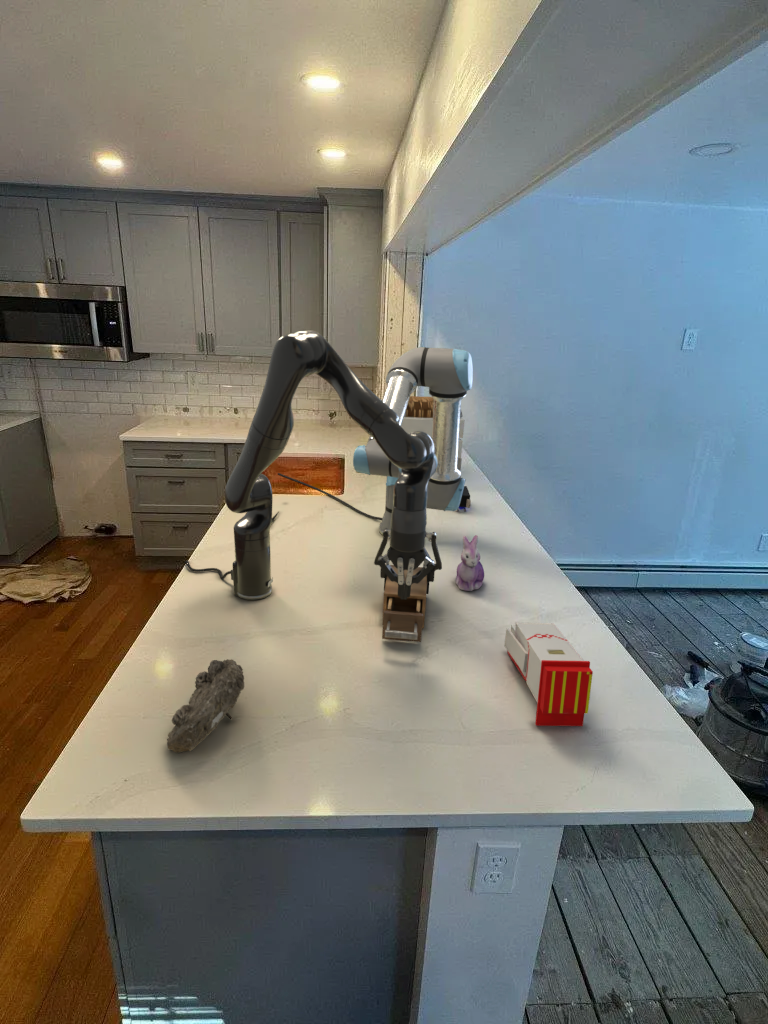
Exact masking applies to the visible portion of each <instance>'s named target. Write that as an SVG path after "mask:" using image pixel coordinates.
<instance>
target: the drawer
mask: <svg viewBox="0 0 768 1024" xmlns="http://www.w3.org/2000/svg"><path fill="white" fill-rule="evenodd" d="M422 621H423V614H422V613H420V599H412V598H407V600H404V599H400V597H389V602H388V608H387V611H385V610H384V612H383V611H382V622H383V625H382V632H381V633H382V634H381V639H382V640H391V641H404V642H415V643H422V634H423V632H422V631H423V628H422Z"/></svg>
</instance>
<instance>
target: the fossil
mask: <svg viewBox="0 0 768 1024" xmlns="http://www.w3.org/2000/svg"><path fill="white" fill-rule="evenodd" d="M243 670H244V669H243V667H242V665H240V664H237V662H236V661H235V660H234V659H232V658H231V659H227V658H226V659H224V660H223V661H222V660H217V659H212V660H211V661H210V663H209V665H208V666H207V671H201V672H199V673H198V674H197V675H196V676H195V680H194V684H195V685H194V687H195V689H194V690H193V693H192V694H191V697H190V698H189V700H188V704H184V705H182V706H181V707H180V709H177V710H176V711H175V713H174V715H173V716H172V718H171V723H172V724H173V727H172V730H171V731H170V732H168V734H167V738H166V741H167V742H166V745H167V749H168V750H169V751H173V752H174V753H176V754H178V753H182V752H188V751H189V752H192V751H193V750H195V748H196V747H197V746H199V744H200V743H201V742H203V741H204V740H205V739H206V738H207V737H208V736H209V735H210V734H211V733H212V732H214V730H215V729H217V727H218V726H219V724H220V722H221V721H222V720H223V719H224V718H225V716H226V717H227V719H229V720H233V717H232V715H230V714H229V710H230V709H231V708H234V706H235V704H236V703H237V702H238V699H239V697H240V695H241V693H242V691H243V690H245V689H244V688H245V675H244V671H243Z"/></svg>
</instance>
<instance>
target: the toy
mask: <svg viewBox="0 0 768 1024" xmlns="http://www.w3.org/2000/svg"><path fill="white" fill-rule="evenodd" d="M503 645H504V647H505V649H506V650H507V655H508V656H509V658H510V659H511V662H513V664H514V666H515V667H516V669H517V670H518V672H519V673H520V675H521V676H522V679H523V680H524V681H525V683H526V686H527V687H528V689H529V690H530V693H531V694H532V696H533V698H534V700H535V701H536V703H537V704H536V714H535V722H534V723H535V726H537V727H541V726H542V727H583V726H584V719H585V715H586V714H587V715H588V714H589V706H590V705H589V704H590V699H591V691H592V683H593V682H592V681H593V674H594V673H593V672H594V671H593V670H592V669H591V668H590V667H591V661H590V660H584V659H583V658H582V657H581V655H580V654H579V653H578V651H577V650H576V649H575V648H574V647H573V645H572V644H571V643H570V642H569V640H568V639H567V638H566V636H564V633H562V632H561V630H560V629H559V628H558V627H557V625H556V624H555V623H553V622H515V624H511V625H510V628H506V630H505V638H504V644H503Z"/></svg>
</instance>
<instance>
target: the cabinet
mask: <svg viewBox="0 0 768 1024" xmlns="http://www.w3.org/2000/svg"><path fill="white" fill-rule="evenodd" d="M389 565H390V566H391V567H392V569H393V570H394V571H395V572H396V574H398V569H397V568H396V567H395V566H394V565H393V564H389ZM422 567H423V566H418V568H417V569H415V570H413V575H415V574H416V573H417V572H418V571H419V570H420V569H421V568H422ZM406 577H407V570H404V581H406ZM426 591H427V575H426V576H425V577H424V578H423V579H422V580H421V581H420V582H419V583H418V584H416V583H413V584H412V585H411V593H410V597H407V598H412V599H420V613H422V614H423V621H422V629H425V619H426V608H427V607H426V606H427V594H426ZM389 597H398V583H397V582H395V581H394V582H392V581H391V580H390V579H389V578H388V576H387V579H386V585H385V590H384V589H383V605H382V613H383V612H384V610H385V611H387V608H388V602H389ZM400 598H401V597H400ZM381 624H382V626H383V621H382V623H381Z"/></svg>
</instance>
